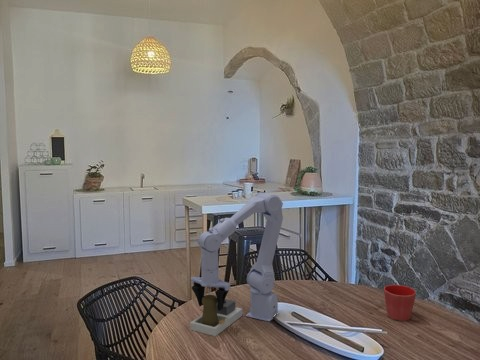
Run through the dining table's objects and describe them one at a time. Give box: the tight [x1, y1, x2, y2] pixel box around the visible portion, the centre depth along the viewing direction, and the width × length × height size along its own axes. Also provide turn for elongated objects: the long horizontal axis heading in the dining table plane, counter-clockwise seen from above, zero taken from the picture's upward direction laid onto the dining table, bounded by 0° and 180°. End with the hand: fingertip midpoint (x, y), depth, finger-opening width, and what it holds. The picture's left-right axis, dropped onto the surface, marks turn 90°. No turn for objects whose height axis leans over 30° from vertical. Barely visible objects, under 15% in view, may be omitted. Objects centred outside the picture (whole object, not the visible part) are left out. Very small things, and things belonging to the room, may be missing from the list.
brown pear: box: [202, 294, 219, 327], centre depth 138 cm, size 6×6×11 cm
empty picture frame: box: [189, 298, 243, 337], centre depth 143 cm, size 10×18×6 cm, turn 151°
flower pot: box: [383, 284, 417, 322], centre depth 146 cm, size 11×11×10 cm
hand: (210, 307), depth 139 cm, fingers open, 7 cm apart
